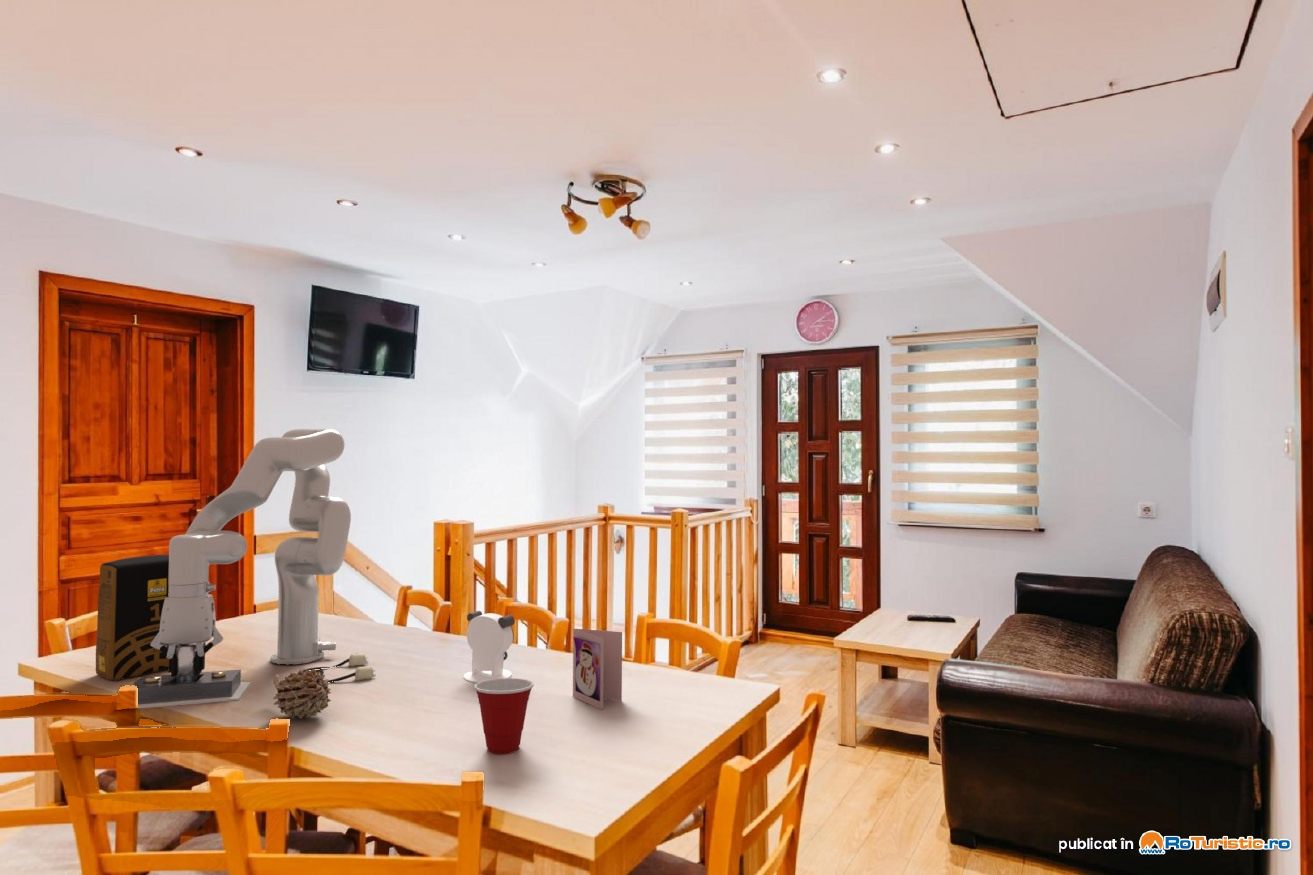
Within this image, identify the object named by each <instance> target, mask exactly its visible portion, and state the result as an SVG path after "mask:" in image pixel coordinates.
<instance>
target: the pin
mask: <svg viewBox="0 0 1313 875" xmlns="http://www.w3.org/2000/svg"><path fill="white" fill-rule="evenodd" d="M197 653H198V652H197V647H196V643H187V644H180V645H178V646H177V653H176V683H181V682H194V681H197V675H195V657H197Z"/></svg>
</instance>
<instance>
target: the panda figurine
mask: <svg viewBox="0 0 1313 875" xmlns="http://www.w3.org/2000/svg"><path fill="white" fill-rule="evenodd" d="M466 619H467V621H469V623H468V626H467V631H466V640H467V641H466V642H467V643H468V646H469V647H470V649H471V650H472V652H471V655H472V656H471V657H472V658H471V659H472V660H471V670H470V671H467V672H466V673H464V675H463V679H464V680H465V681H466V682H469V683H472V684H473V683H475V684H476V683H478V682H481V681H485V680H491V679H501V678H512V675H513V673H512V671H510V670H508V669H505V668H504V661H506V660H507V659H508V656H509V655H508V650H509V649H510V647H511V646H512V644H513V642H514V639H515V638H514V636H515V635H514V630H513V627H512V626H514V624H515V618H514V616H513V615H512V614H508V615H505V616H504V615H501V614H497V613H492V612H491V613H490V612H489V613H484V614H483V612H482V611H481V610H477V611H474V612H469V613H468V614H467V615H466Z"/></svg>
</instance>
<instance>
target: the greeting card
mask: <svg viewBox="0 0 1313 875" xmlns="http://www.w3.org/2000/svg"><path fill="white" fill-rule="evenodd" d="M572 630H573V632H572V633H573V636H572V638H573V639H572V640H573V642H572V644H573V647H572V648H573V649H572V652H573V653H572V697H573V698H575V699H578V700H581V701H582V702H585V703H586V704H589V705H591V706H594V707H595V706H596V708H597V709H601V710H603V711H604V700H606V701H608V700H609V701H617V702H622V700H623V698H622V697H623V696H622V694H623V688H622V687H623V686H622V685H623V632H622V631H615V630H614V631H613V630H599V629H587V628H586V629H585V628H573V629H572Z"/></svg>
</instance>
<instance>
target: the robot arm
mask: <svg viewBox="0 0 1313 875" xmlns="http://www.w3.org/2000/svg"><path fill="white" fill-rule="evenodd" d="M344 450H345V439H344V437H343V435H341V434H340V432H338V431H337V430H335V429H329V428H297V429H291V430H289V431H286V432H285V433H283V435H282V437H279V436H277V437H275V436H273V437H266V438H262V439H261V440H259V441H258V442H256V444H255V445H254V446H253V447H252V450H251V451H250V453H249V455H248V456H247V458H246V460H245V462H244V464H242V467H241V469H240V470H239V471H238V474H237V476H236V477H235V479H234V480H233V482H232V484H231V486H229V487H228V488H227V489H226V490H224V491H222V493H220V494H218V496H216V497H215V498H214V499H212V500H211V501H209V502H208V503H207V504H206V505H205V506H204V507H203V508H202V509H201V510H200V511H199V512H198V513H197V514H196V516H195V517H194V519H193V521H192V522H191V523H190V526H189V527H188V529H187V531H186V532H185V534H178V535H175V536H173V537H171V538H170V540H169V544H168V545H169V546H168V554H169V581H168V583H169V584H168V597H167V598H165V600H164V604H163V608H162V614H161V621H160V630H159V633H158V634H157V635H156V637H155V638H154V640H153V641H152V642H151V644H150V645H151V646H152V647H154V648H156V649H159V650H160V651H161V652H162V653H164V654H165V655H166V656H167V658H168V659H169V670H168V673H170V675H171V677H175V676H176V653H177V646H178V645H179V644H187V643H196V647H197V652H198V653H197V657H195V675H199V674H200V673H201V672H203V671H204V670H205V669H206V668H205V666H206V654H207V653H208V652H209V651H210V650H211V649H212V648H213V647H216V646H217V645H218V644H221V643H222V641H224V637H223V635H222V634H221V633H220V631H219V629H218V628H217V624H216V609H215V601H214V598H213V597H214V596H213V594H209V593H210V592H212V591H216V589H217V588H216V587H217V586H216V584H215V583H214V584H213V583H211V582H210V581H209V573H210V572H209V571H210V570H209V569H210V565H229V564H234V563H236V562H238V561H240V560H241V559H243V557H244V556H245V555H246V553H247V551H248V541H247V539H246V538H245V537H244V536H243V535H242V534H241V533H239V532H236V531H233V530H223V528H224V526H225V525H227V523H229V522H230V521H231V520H232V519H234V518H236V517H237V516H239V515H241V514H243V513H246V512H248V511H252V510H253V509H256V508H259V507H260V506H262V505H264V504H265V503H266V502H267V501H268V499H269V497H270V496H271V494H272V491H273V489H274V488H275V486H276V484H277V482H278V481H279V479H280V477H281V475H282V474H283V472H294V476H295V478H294V479H295V480H294V481H295V482H294V488H293V492H292V499H291V503H290V504H291V505H290V509H289V514H288V523H289V526H290V527H291V528H292V529H293V530H295V531H297V532H301V533H303V532H304V533H315V534H318V536H317V537H312V536H311V537H310V536H307V537H306V536H294V537H288V538H286V539H284V540H282V541H281V542H280V543H279V544H278V545H277V547H276V550H275V551H274V564H275V569H276V570H275V571H276V573H277V580H278V581H277V582H278V583H277V584H278V601H277V603H278V604H277V605H278V607H277V610H278V611H277V613H278V614H277V652H275V653H273V654H272V655H271V656H270V662H271V663H272V664H274V663H277V664H276V665H280V664H286V665H285V666H290V665H289V664H293V665H301V664H300V663H303V664H307V663H311V662H312V661H313V662H315V660H316V661H318V660H317V659H319V660H321V659H322V658H324V656H325V651H336V650H337V649H336V648H337V642H333V641H325V642H323V640H322V641H321V637H320V636H319V594H320V590H319V584H318V581H317V579H316V577H315V576H321V577H323V576H325V577H326V576H331V575H334V574H336V573H337V572H338V571H339V570H340V569H341V567H342V565H343V562H344V560H345V555H346V550H347V544H348V539H349V533H350V528H351V527H350V526H351V521H352V518H351V515H352V514H351V509H350V507H349V504H348V503H347V502H346V501H345V500H344V499H342V498H340V497H336V496H335V497H334V496H329V493H330V487H331V486H330V485H331V484H330V483H331V476H330V472H329V470H328V468H327V466H326V464H329V463H332V462H334V461H337V459H339V458H340V457H341V456H342V454H343V452H344ZM212 638H213V639H212ZM211 639H212V640H211ZM210 640H211V641H210ZM208 641H209V642H208ZM207 642H208V643H207ZM166 644H167V645H166ZM168 645H169V646H168ZM313 662H312V663H313Z"/></svg>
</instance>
